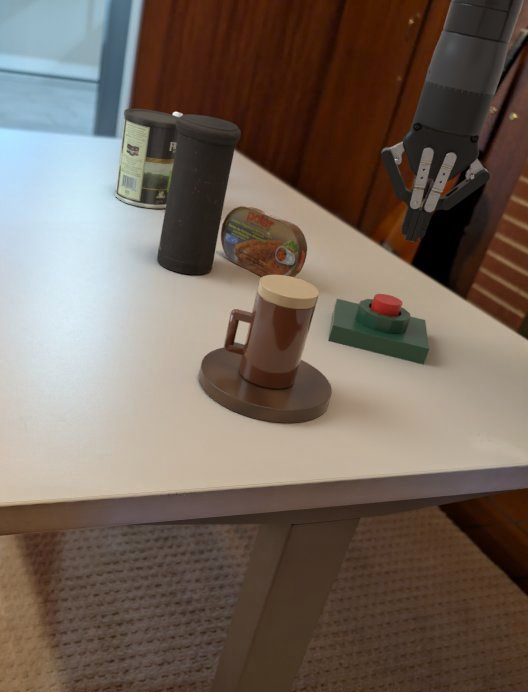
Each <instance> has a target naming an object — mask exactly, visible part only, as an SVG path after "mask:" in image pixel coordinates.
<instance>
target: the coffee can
mask: <svg viewBox="0 0 528 692" xmlns="http://www.w3.org/2000/svg"><path fill="white" fill-rule="evenodd" d="M123 116H124V118H123V126H122V135H121V142H120V143H121V144H120V152H119V161H118V171H117V179H116V188H115V193H114V197H115V198H116V197H117V198H118V199H117V198H116V199H117V200H118V201H120V200H121V202H122V203H125V204H126V205H127V204H128V205H130V206H134V207H139V208H145V209H152V210H153V209H154V210H159V209H166V203H167V197H168V191H169V185H170V180H171V174H172V169H173V163H174V157H175V151H176V145H177V139H178V133H179V132H178V131H177V128H176V120H177V118H179V117H177V116H174V115H173V114H170V113H166V112H163V111H158V110H151V109H144V108H127V109H124V110H123Z"/></svg>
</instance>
